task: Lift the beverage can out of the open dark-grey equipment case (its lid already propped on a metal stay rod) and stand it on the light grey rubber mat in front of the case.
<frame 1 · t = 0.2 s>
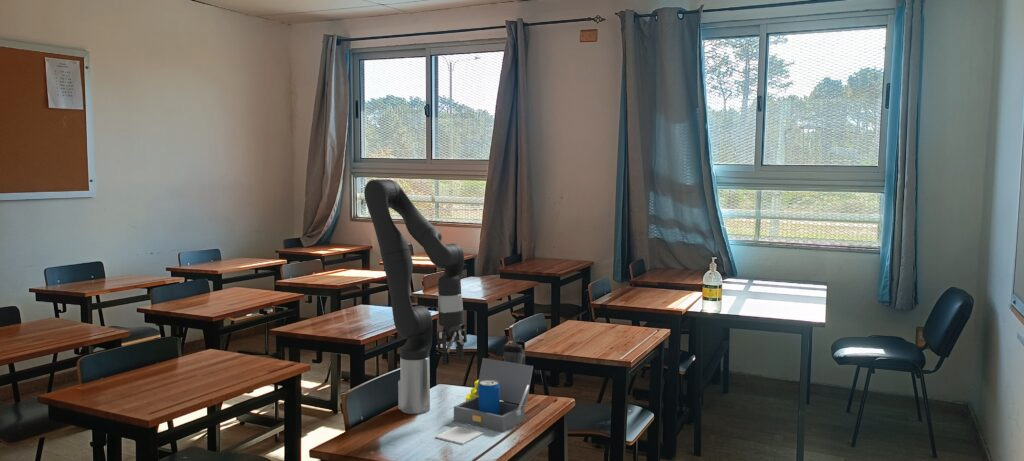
hand: (453, 361, 221), 18 cm above the table, tool pointing down, fingers open, 8 cm apart
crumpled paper: (476, 403, 238), on the table
electronic device: (514, 403, 237), on the table
beverage can: (489, 421, 220), resting in case
case: (489, 420, 220), on the table
pad: (459, 435, 207), on the table
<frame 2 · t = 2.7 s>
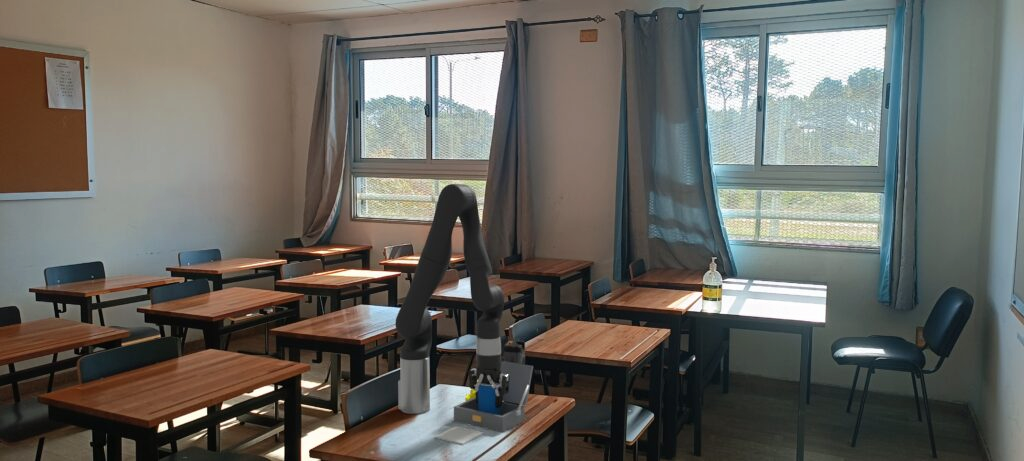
hand: (489, 405, 219), 5 cm above the table, tool pointing down, fingers closed on beverage can, 6 cm apart
beverage can: (489, 421, 219), resting in case, touching gripper
everything else where it was.
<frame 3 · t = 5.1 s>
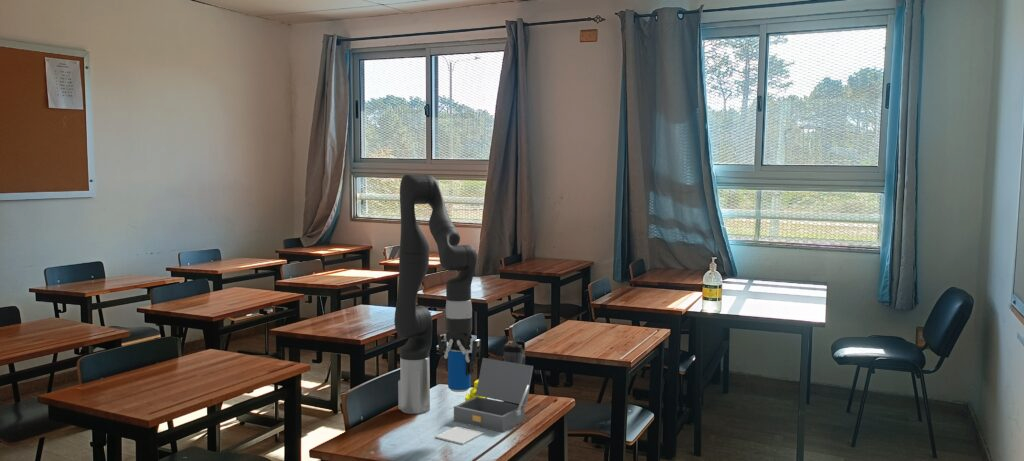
hand: (459, 372, 206), 19 cm above the table, tool pointing down, fingers closed on beverage can, 6 cm apart
beverage can: (459, 390, 206), point 13 cm above the table, touching gripper
everything else where it was.
when the fingers open (7 cm above the table, at t = 7.8 s): beverage can drops 1 cm, resting on pad.
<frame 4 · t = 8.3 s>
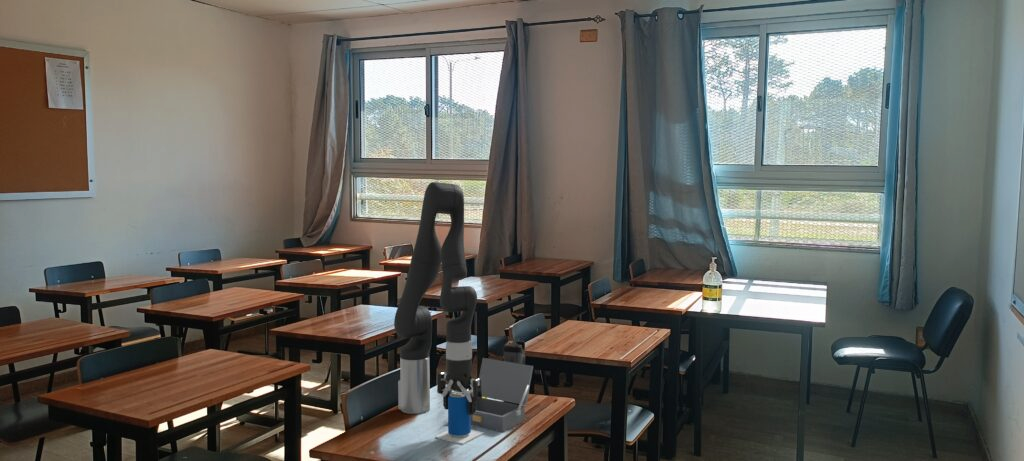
hand: (459, 411, 206), 7 cm above the table, tool pointing down, fingers open, 8 cm apart
beverage can: (459, 435, 207), resting on pad
everything else where it was.
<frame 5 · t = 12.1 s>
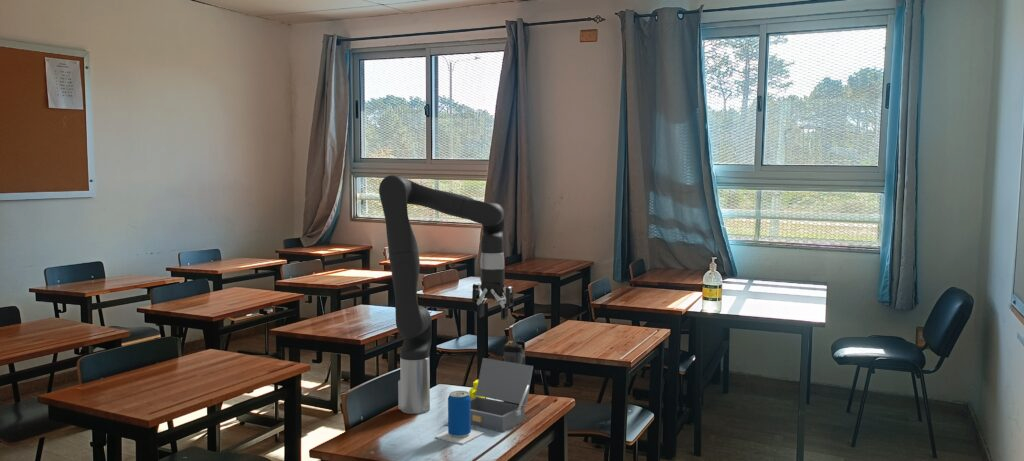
hand: (492, 317, 226), 30 cm above the table, tool pointing down, fingers open, 8 cm apart
nothing on the table moved.
at the end: beverage can inside the target area on the pad (0.0 cm from its centre), point 0.2 cm above the pad's base; beverage can tilted 0°; the gripper is holding nothing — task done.
